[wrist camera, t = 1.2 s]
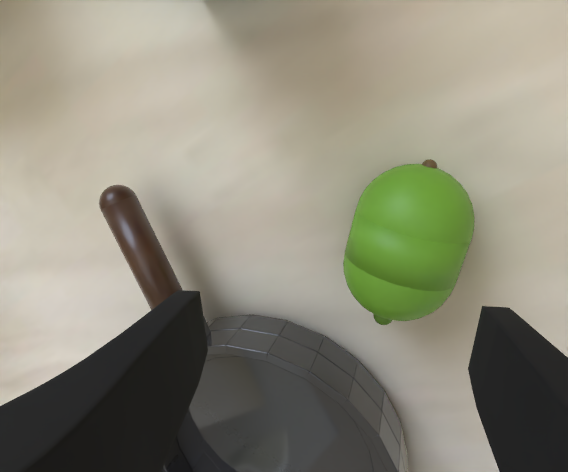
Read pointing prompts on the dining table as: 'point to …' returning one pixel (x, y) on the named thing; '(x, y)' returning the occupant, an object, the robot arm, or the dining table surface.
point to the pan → (285, 406)
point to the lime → (408, 242)
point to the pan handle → (139, 245)
